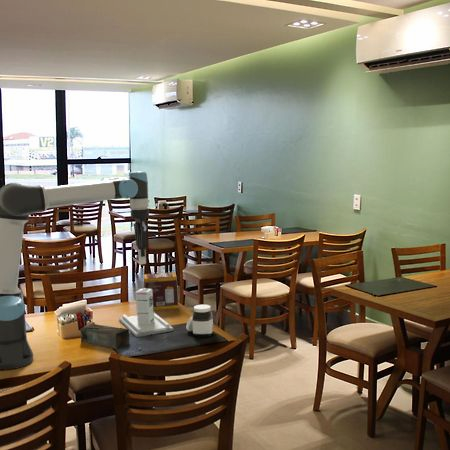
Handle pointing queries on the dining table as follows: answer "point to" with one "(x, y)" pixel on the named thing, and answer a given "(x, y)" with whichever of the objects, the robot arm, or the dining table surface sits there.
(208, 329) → the spread jar
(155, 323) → the panel
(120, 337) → the dark grey rectangular block
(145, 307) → the syrup box
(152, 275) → the supplement box
